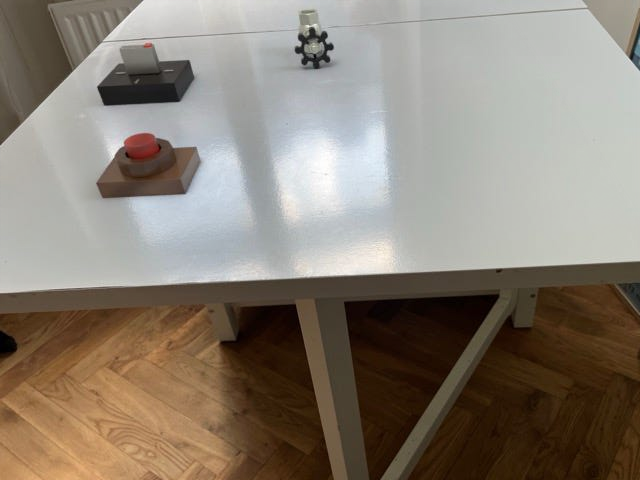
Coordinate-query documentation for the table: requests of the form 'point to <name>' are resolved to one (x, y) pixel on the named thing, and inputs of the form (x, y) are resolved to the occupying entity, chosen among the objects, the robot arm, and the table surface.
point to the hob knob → (140, 59)
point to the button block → (150, 172)
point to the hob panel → (147, 84)
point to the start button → (141, 146)
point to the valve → (312, 38)
